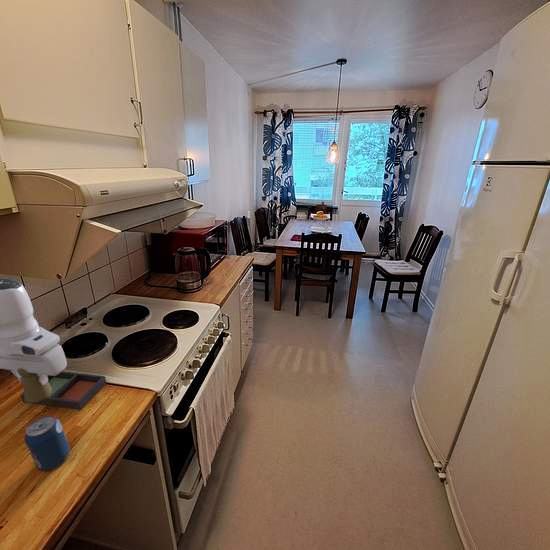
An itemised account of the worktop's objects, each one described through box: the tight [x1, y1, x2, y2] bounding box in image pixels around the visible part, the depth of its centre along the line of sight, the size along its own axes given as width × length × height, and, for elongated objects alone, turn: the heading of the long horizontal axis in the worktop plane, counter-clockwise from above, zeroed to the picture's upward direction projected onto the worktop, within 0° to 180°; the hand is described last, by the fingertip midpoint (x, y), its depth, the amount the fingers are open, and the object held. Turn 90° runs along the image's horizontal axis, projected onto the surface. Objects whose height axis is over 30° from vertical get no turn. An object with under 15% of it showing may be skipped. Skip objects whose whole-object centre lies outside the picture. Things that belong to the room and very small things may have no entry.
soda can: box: [23, 414, 71, 472], centre depth 70 cm, size 7×7×12 cm
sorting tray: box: [19, 370, 108, 411], centre depth 92 cm, size 20×12×3 cm, turn 82°
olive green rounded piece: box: [17, 368, 52, 404], centre depth 78 cm, size 6×6×11 cm
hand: (34, 381), depth 78 cm, fingers closed on olive green rounded piece, 4 cm apart
